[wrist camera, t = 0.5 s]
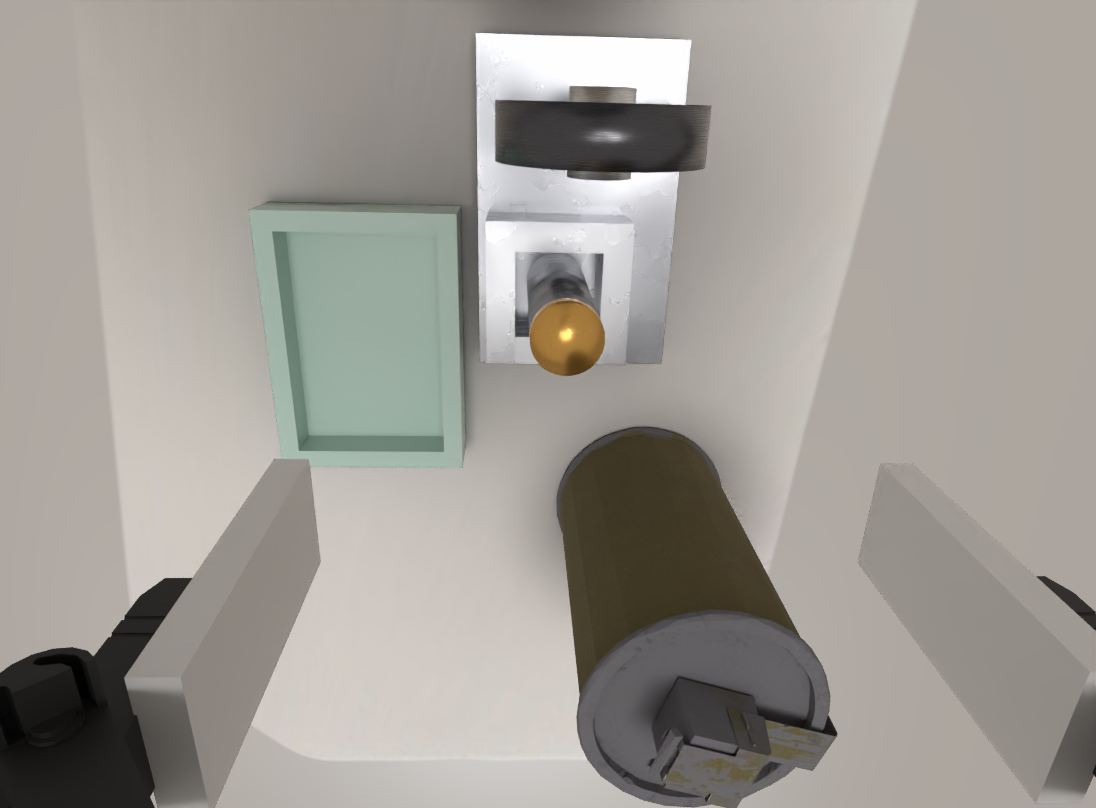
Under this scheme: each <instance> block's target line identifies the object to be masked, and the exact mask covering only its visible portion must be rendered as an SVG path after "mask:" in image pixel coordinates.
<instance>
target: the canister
mask: <svg viewBox="0 0 1096 808" xmlns="http://www.w3.org/2000/svg"><path fill="white" fill-rule="evenodd" d="M557 517H558V520H559V524H560V527H561V531H562V533H563V541H564V551H565V560H566V570H567V579H568V589H569V598H570V607H571V617H572V626H573V636H574V645H575V655H576V664H577V674H578V683H579V693H580V697H579V704H578V710H577V730H578V735H579V739H580V744H581V747H582V749H583V751H584V753H585V755H586V757H587V759H588V761H589V762H590V763H591V764H592V766H593V767H594V768H595V769H596V771H597V772H598V773H599V774H600V776H602V777H603V778H604V779H606V780H608V781H609V782H610V783H612V784H613V785H615V786H616V787H617V788H619V789H620V790H622V791H623V792H626V793H628V794H631V795H633V796H635V797H637V798H639V799H642V800H644V801H648V802H652V803H657V804H661V805H665V806H680V807H699V806H705V805H711V804H713V805H717V806H721V807H726V808H737V806H738V805H739V803H740V801H741V800H742V798H744V797H747V796H749V795H751V794H753V793H755V792H757V791H759V790H761V789H763V788H765V787H767V786H770V785H771V784H773V783H775V782H776V781H778V780H780V779H781V778H783V777H785V776H786V775H787V774H789V773H790V772H791V771H792V770H793V769H794V768H795V767H798V768H802V769H807V770H811V771H812V770H814V769H815V767H816V766H817V764H818V763H819V761H820V760H821V758H822V757H823V756H824V754H825V753H826V751H827V750H828V748H829V747H830V745H831V744H832V742H833V741H834V740H835V738H836V737H837V731H836V729H835V727H834V726H833V723H832V722H831V719H830V718H829V716H828V713H829V707H830V692H829V687H828V682H827V677H826V674H825V672H824V669H823V667H822V665H821V663H820V661H819V660H818V658H817V657H816V655H815V654H814V652H813V650H812V649H811V648H810V647H809V645H808V644H807V643H806V642H805V641H804V640H803V639H801V638H800V636H799V634H798V632H797V630H796V628H795V626H794V624H793V622H792V620H791V619H790V617H789V615H788V613H787V611H786V609H785V607H784V605H783V603H782V602H781V600H780V598H779V596H778V594H777V592H776V590H775V588H774V586H773V584H772V583H771V581H770V579H769V577H768V575H767V573H766V571H765V569H764V567H763V565H762V564H761V562H760V560H759V558H758V556H757V554H756V552H755V550H754V548H753V546H752V545H751V543H750V541H749V539H748V537H747V535H746V533H745V531H744V529H743V528H742V526H741V524H740V522H739V520H738V518H737V516H736V514H735V512H734V510H733V509H732V507H731V505H730V503H729V501H728V499H727V497H726V495H725V493H724V491H723V490H722V487H721V482H720V478H719V475H718V473H717V471H716V468H715V466H714V464H713V462H712V461H711V460H710V458H709V457H708V455H707V454H706V453H705V452H704V451H703V450H701V449H700V448H699V447H698V446H697V445H696V444H695V443H693V442H692V441H690V440H689V439H687V438H686V437H684V436H681V435H678V434H675V433H671V432H667V431H664V430H660V429H655V428H631V429H627V430H624V431H620V432H617V433H613V434H609V435H606V436H604V437H602V438H601V439H599V440H598V441H596V442H595V443H593V444H591V445H590V446H588V447H587V448H586V449H585V450H584V451H583V452H582V453H580V454H579V455H578V456H577V457H576V458H575V459H574V460H573V461H572V462H571V464H570V466H569V468H568V469H567V471H566V473H565V475H564V477H563V479H562V482H561V484H560V487H559V491H558V495H557Z"/></svg>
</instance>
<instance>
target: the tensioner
mask: <svg viewBox="0 0 1096 808" xmlns="http://www.w3.org/2000/svg"><path fill="white" fill-rule="evenodd" d="M690 49H691V40H676V39H645V38H614V37H582V36H551V35H520V34H489V33H476V86H477V169H478V252H479V335H480V362H487V363H510V364H539V363H538V362H537V361H536V359H535V358H534V356H533V354H532V351H531V348H530V337H529V317H528V296H527V276H528V272H529V270H530V268H531V266H532V265H533V263H534V262H535V261H536V260H538V259H539V258H540V257H542V256H544V255H547V254H551V253H561V254H565V255H567V256H569V257H571V258H572V259H574V260H575V261H576V262H577V263H578V264H579V266H580V268H581V270H582V272H583V275H584V277H585V280H586V283H587V285H588V288H589V291H590V293H591V296H592V298H593V301H594V304H595V306H596V309H597V312H598V314H599V317H600V320H601V322H602V325H603V328H604V331H605V346H604V350H603V352H602V355H601V356H600V358H599V359H598V361H597V362H596V363H595V364H599V365H625V364H661V363H662V352H663V342H664V331H665V320H666V309H667V298H668V287H669V277H670V266H671V255H672V244H673V233H674V223H675V212H676V201H677V190H678V179H679V172H683V171H694V170H700V169H704V168H705V162H706V153H707V143H708V134H709V124H710V115H711V106H705V105H685V104H686V93H687V82H688V71H689V60H690Z"/></svg>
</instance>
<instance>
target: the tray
mask: <svg viewBox="0 0 1096 808" xmlns="http://www.w3.org/2000/svg"><path fill="white" fill-rule="evenodd" d="M248 211H249V218H250V226H251V233H252V241H253V248H254V256H255V263H256V271H257V278H258V286H259V293H260V301H261V308H262V316H263V323H264V331H265V338H266V346H267V353H268V361H269V368H270V376H271V383H272V391H273V398H274V406H275V413H276V421H277V428H278V436H279V443H280V451H281V458H282V459H309V463H310V467H387V468H462V467H463V461H464V454H465V448H466V422H465V375H464V327H463V279H462V232H461V206H441V205H394V204H347V203H299V202H267V203H264V204H262V205H259V206H257V207H254V208H252V209H249V210H248Z"/></svg>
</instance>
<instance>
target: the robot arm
mask: <svg viewBox="0 0 1096 808" xmlns="http://www.w3.org/2000/svg"><path fill="white" fill-rule="evenodd" d="M320 562H321V561H320V552H319V543H318V534H317V525H316V516H315V507H314V499H313V490H312V481H311V472H310V463H309V459H274V460H273V462H272V463H271V465H270V466H269V467H268V469H267V470H266V472H265V473H264V475H263V476H262V478H261V479H260V481H259V482H258V483H257V485H256V486H255V488H254V489H253V491H252V492H251V494H250V495H249V497H248V498H247V499H246V501H245V502H244V504H243V505H242V507H241V508H240V510H239V511H238V513H237V514H236V516H235V517H234V518H233V520H232V521H231V523H230V524H229V526H228V527H227V529H226V530H225V532H224V533H223V534H222V536H221V537H220V539H219V540H218V542H217V543H216V545H215V546H214V548H213V549H212V551H211V552H210V553H209V555H208V556H207V558H206V559H205V561H204V562H203V564H202V565H201V567H200V568H199V569H198V571H197V572H196V574H195V575H194V577H193V578H165V579H163V580H162V581H161V582H159V583H158V584H156V585H155V586H153V587H152V588H151V589H149V590H148V591H146V592H145V593H144V594H142V595H141V596H140V597H139V598H138V599H137V601H136V602H135V603H134V605H133V606H132V607H131V609H130V610H129V611H128V612H127V614H126V615H125V619H124V620H121V622H120V623H119V624H118V626H117V627H116V628H115V629H114V631H113V632H112V636H111V637H109V638H108V639H107V640H106V641H105V642H104V644H103V645H102V646H101V648H100V649H99V650H98V652H97V653H96V654H95V655H94V657H93V656H92V655H91V654H90V653H89V652H88V651H86V650H81V649H77V648H73V647H70V648H57V649H51V650H47V651H44V652H40V653H37V654H33V655H30V656H29V657H26V658H25V659H22V660H20V661H18V662H16V663H14V664H12V665H10V666H9V667H8V668H6V669H5V670H4V671H2V672H1V673H0V808H155V807H154V805H153V803H152V801H151V799H150V796H151V794H152V792H154V796H155V799H156V803H157V807H158V808H215V806H216V804H217V801H218V799H219V797H220V794H221V792H222V790H223V787H224V785H225V783H226V780H227V778H228V775H229V773H230V771H231V769H232V766H233V764H234V762H235V759H236V757H237V755H238V753H239V750H240V748H241V746H242V743H243V741H244V739H245V736H246V734H247V731H248V729H249V727H250V725H251V722H252V720H253V718H254V715H255V713H256V711H257V708H258V706H259V704H260V701H261V699H262V697H263V695H264V692H265V690H266V688H267V685H268V683H269V681H270V678H271V676H272V674H273V671H274V669H275V667H276V664H277V662H278V660H279V657H280V655H281V653H282V650H283V648H284V646H285V643H286V641H287V639H288V637H289V634H290V632H291V630H292V627H293V625H294V623H295V620H296V618H297V616H298V613H299V611H300V609H301V606H302V604H303V602H304V599H305V597H306V595H307V592H308V590H309V588H310V585H311V583H312V581H313V579H314V576H315V574H316V572H317V569H318V567H319V565H320ZM858 564H859V565H860V567H861V568H862V569H863V571H864V572H865V573H866V575H867V576H868V577H869V578H870V580H871V581H872V583H873V584H874V585H875V587H876V588H877V590H878V591H879V592H880V594H881V595H882V596H883V598H884V599H885V600H886V602H887V603H888V604H889V606H890V607H891V609H892V610H893V611H894V612H895V614H896V615H897V617H898V618H899V619H900V621H901V622H902V623H903V625H904V626H905V627H906V629H907V630H908V632H909V633H910V634H911V636H912V637H913V638H914V640H915V641H916V642H917V644H918V645H919V646H920V648H921V649H922V651H923V652H924V653H925V654H926V656H927V657H928V659H929V660H930V661H931V662H932V664H933V665H934V667H935V668H936V669H937V671H938V672H939V674H940V675H941V676H942V678H943V679H944V680H945V681H946V683H947V684H948V686H949V687H950V688H951V690H952V691H953V692H954V694H955V695H956V697H957V698H958V699H959V701H960V702H961V703H962V704H963V706H964V707H965V709H966V710H967V711H968V713H969V714H970V715H971V717H972V718H973V720H974V721H975V722H976V724H977V725H978V726H979V728H980V729H981V730H982V732H983V733H984V734H985V736H986V737H987V738H988V740H989V741H990V742H991V744H992V745H993V747H994V748H995V749H996V751H997V752H998V753H999V755H1000V756H1001V757H1002V759H1003V760H1004V761H1005V763H1006V764H1007V766H1008V767H1009V768H1010V769H1011V771H1012V772H1013V774H1014V775H1015V776H1016V778H1017V779H1018V780H1019V782H1020V783H1021V784H1022V786H1023V787H1024V789H1025V790H1026V791H1027V793H1028V794H1029V795H1030V797H1031V798H1032V799H1033V801H1034V802H1035V803H1036V804H1052V803H1053V804H1055V803H1056V804H1057V803H1058V804H1059V803H1061V804H1062V803H1082V801H1083V798H1084V796H1085V794H1086V792H1087V789H1088V787H1089V785H1090V782H1091V780H1092V778H1093V776H1094V775H1095V777H1096V614H1095V613H1096V612H1095V611H1094V610H1092V608H1090V607H1089V606H1088V605H1087V604H1086V603H1085V602H1084V601H1083V600H1081V599H1080V598H1079V597H1078V596H1077V595H1076V594H1075V593H1073V592H1071V591H1070V590H1068V589H1066V588H1064V587H1063V586H1061V585H1059V584H1057V583H1056V582H1054V581H1052V580H1050V579H1048V578H1047V577H1045V576H1035V575H1034V574H1033V573H1032V572H1030V570H1028V569H1027V568H1026V567H1025V566H1024V565H1023V564H1022V563H1021V562H1020V561H1019V560H1017V559H1016V558H1015V557H1014V556H1013V555H1012V554H1011V553H1010V552H1009V551H1007V549H1005V548H1004V547H1003V546H1002V545H1001V544H1000V543H999V542H998V541H997V540H996V539H994V538H993V537H992V536H991V535H990V534H989V533H988V532H987V531H986V530H984V528H982V527H981V526H980V525H979V524H978V523H977V522H976V521H975V520H974V519H973V518H971V517H970V516H969V515H968V514H967V513H966V512H965V511H964V510H963V509H961V507H959V506H958V505H957V504H956V503H955V502H954V501H953V500H952V499H951V498H950V497H949V496H947V495H946V494H945V493H944V492H943V491H942V490H941V489H940V488H939V487H937V486H936V485H935V484H934V483H933V482H932V481H931V480H930V479H929V478H928V477H926V476H925V475H924V474H923V473H922V472H921V471H920V470H919V469H918V468H917V467H916V466H915V465H913V464H889V463H886V464H884V463H881V464H880V468H879V473H878V477H877V481H876V485H875V490H874V494H873V499H872V503H871V507H870V511H869V515H868V520H867V524H866V528H865V532H864V537H863V541H862V545H861V549H860V554H859V558H858Z"/></svg>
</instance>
